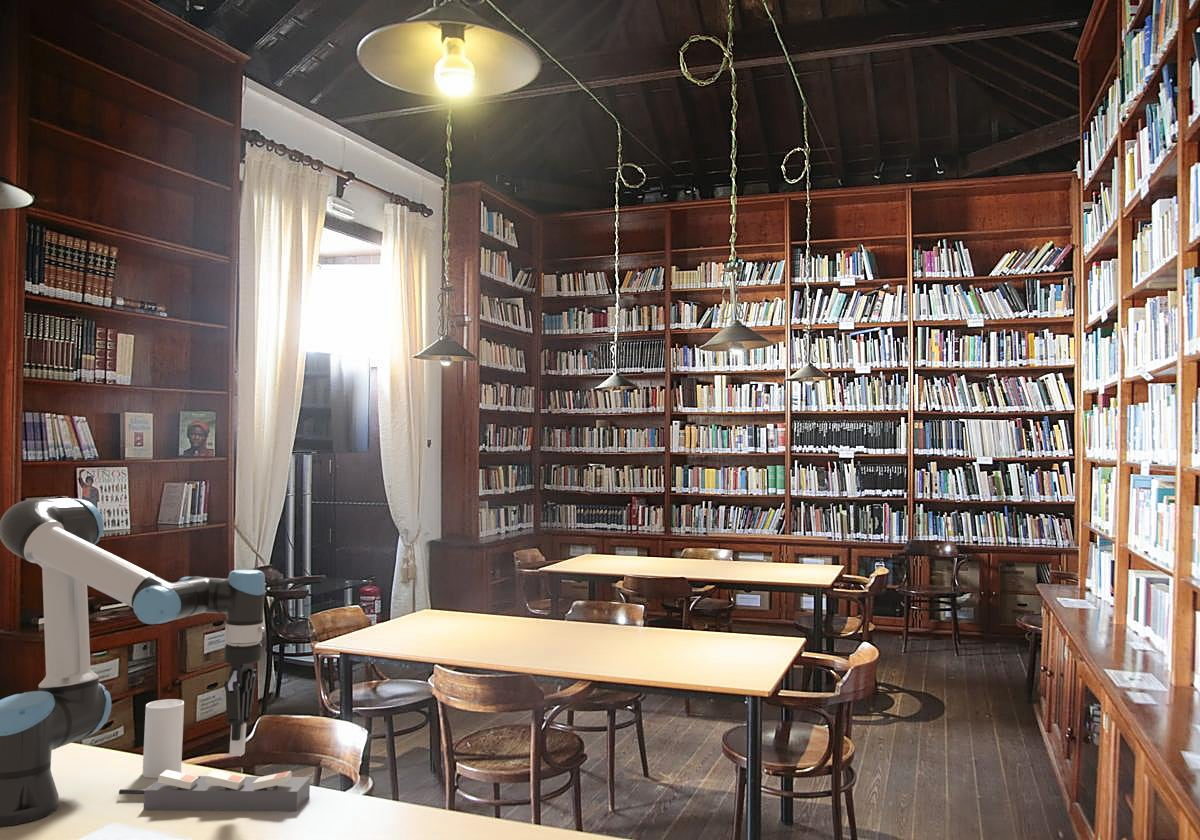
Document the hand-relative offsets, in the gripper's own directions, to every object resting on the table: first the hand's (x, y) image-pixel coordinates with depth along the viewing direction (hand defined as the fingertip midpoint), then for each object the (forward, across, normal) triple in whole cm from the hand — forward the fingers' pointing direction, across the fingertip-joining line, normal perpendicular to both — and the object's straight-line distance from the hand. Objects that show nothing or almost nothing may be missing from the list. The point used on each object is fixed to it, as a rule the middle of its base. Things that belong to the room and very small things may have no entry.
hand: (237, 754), depth 192 cm
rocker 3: (+5, 0, -8) cm, 10 cm away
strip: (+11, +2, +6) cm, 13 cm away
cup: (+12, +21, +25) cm, 35 cm away
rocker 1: (+6, 0, +12) cm, 13 cm away
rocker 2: (+5, 0, +2) cm, 6 cm away
